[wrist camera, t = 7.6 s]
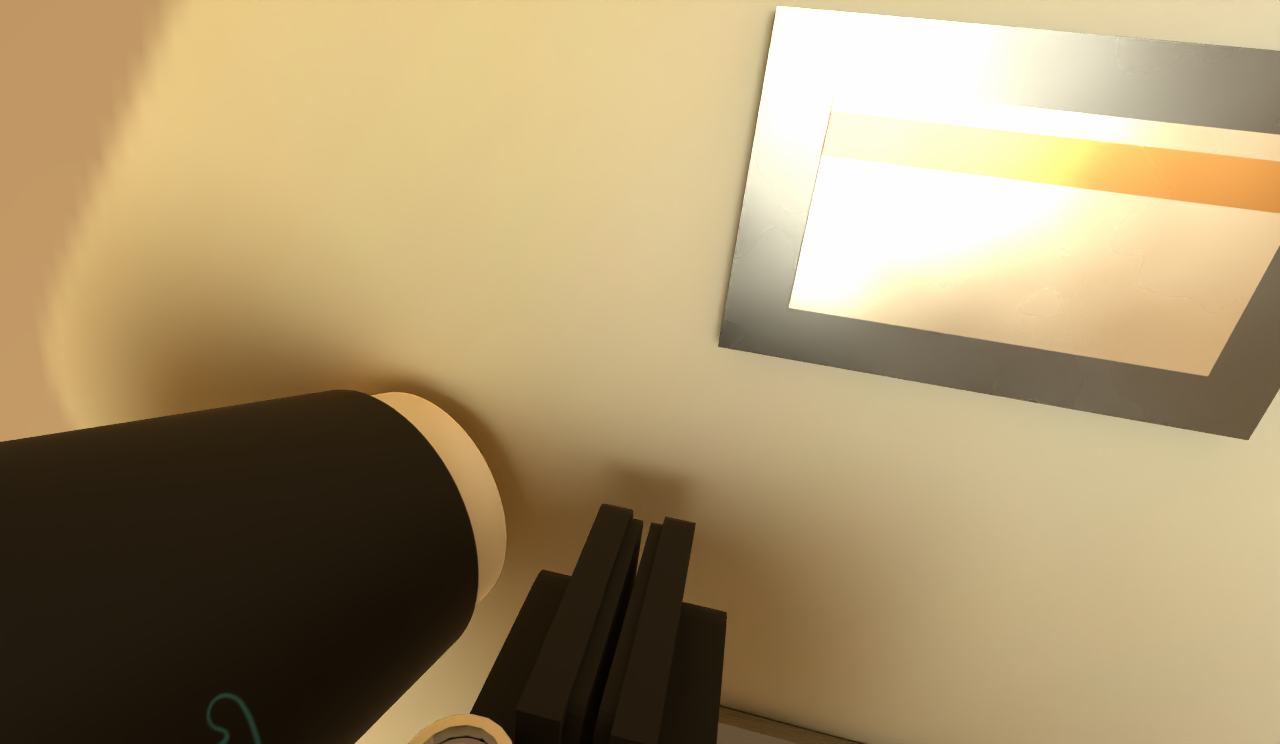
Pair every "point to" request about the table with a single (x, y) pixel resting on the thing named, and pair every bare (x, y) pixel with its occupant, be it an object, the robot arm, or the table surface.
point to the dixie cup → (238, 570)
